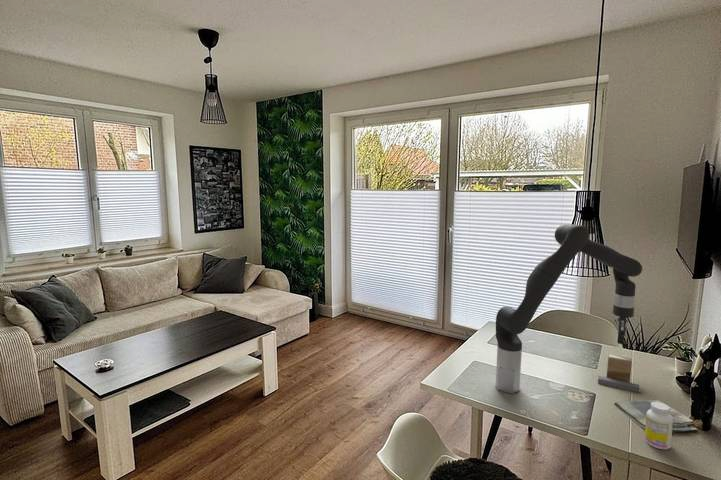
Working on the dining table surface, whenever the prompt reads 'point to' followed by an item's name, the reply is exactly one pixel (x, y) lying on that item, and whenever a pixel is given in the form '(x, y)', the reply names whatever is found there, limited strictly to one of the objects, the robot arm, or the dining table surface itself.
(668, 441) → the supplement bottle
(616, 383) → the rail
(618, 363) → the walnut slab
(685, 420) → the dish towel
